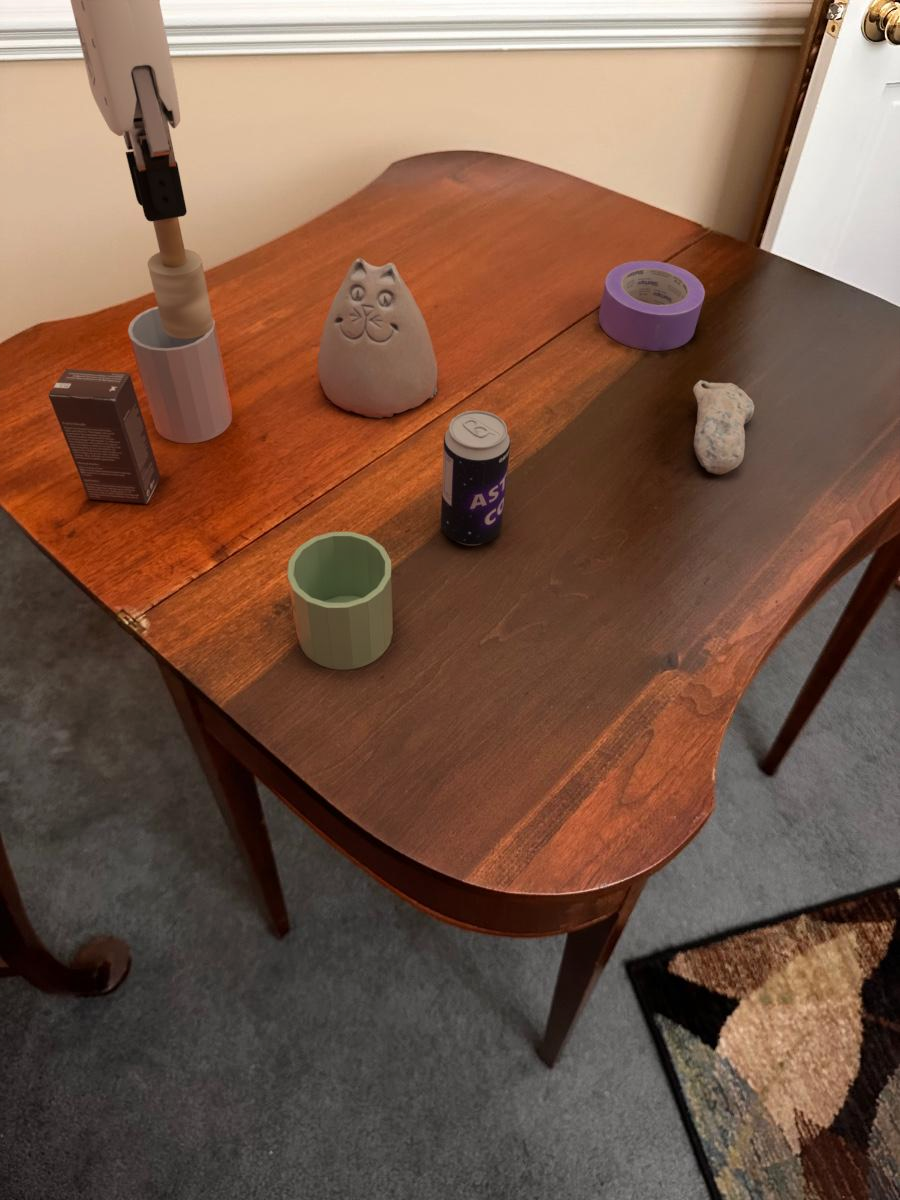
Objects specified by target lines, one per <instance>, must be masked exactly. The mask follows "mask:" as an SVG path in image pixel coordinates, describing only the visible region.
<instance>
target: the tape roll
mask: <svg viewBox="0 0 900 1200" xmlns="http://www.w3.org/2000/svg"><path fill="white" fill-rule="evenodd" d="M705 295H706V292H705V288H704V285H703V284H702V282H701V281H700V280H699V278H698V277H696V276H695V275H694V274H692V273H691V272H689V270H686V269H684V268H682V267H679V266H676V265H674V264H671V263H666V262H662V261H655V260H636V261H635V260H634V261H628V262H625V263H621V264H618V265H617V266H615V267H614V268H612V269H611V270H610V271H609V272H608V274H607V275H606V277H605V281H604V285H603V291H602V296H601V302H600V306H599V313H598V323H599V326H600V327H601V329H602V330H603V332H605V334H607V336H608V337H610V338H611V339H612V340H614V341H616V342H617V343H619V344H622V345H623V346H626V347H629V348H633V349H637V350H641V351H647V352H648V351H649V352H663V351H670V350H674V349H678V348H680V347H682V346H684V345H686V344H687V343H688V342H689V341H691V339H692V338H693V337H694V335H695V332H696V327H697V324H698V321H699V317H700V313H701V309H702V306H703V303H704V299H705Z"/></svg>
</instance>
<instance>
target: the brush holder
mask: <svg viewBox="0 0 900 1200" xmlns="http://www.w3.org/2000/svg"><path fill="white" fill-rule="evenodd" d="M392 573H393V571H392V559H391V558H390V556H389V554H388V553H387V550H386V549H385V547H384V546H383V545H382V544H380V543H379V542H377V541H376V540H375V539H373V538H372V537H370V536H367V535H364V534H361V533H357V532H354V531H331V532H327V533H323V534H319V535H316V536H314V537H312V538H310V539H308V540H307V541H305V542H304V543H302V544H301V545H299V546H298V547H297V548H296V550H295V551H294V553H292V555H291V557H290V558H289V560H288V565H287V573H286V577H287V578H286V579H287V584H288V590H289V597H290V603H291V609H292V614H293V615H292V616H293V620H294V621H293V622H294V626H295V633H296V637H297V641H298V643H299V647H300V648H301V650H302V652H303V654H305V656H306V657H307V658H308V659H309V660H311V661H312V662H313V663H316V664H317V665H319V666H322V667H324V668H327V669H331V670H339V671H346V670H347V671H348V670H356V669H360V668H363V667H365V666H368V665H370V664H371V663H373V662H375V661H377V660H378V659H380V658H381V656H383V654H384V653H385V652H386V651H387V650H388V648H389V646H390V644H391V642H392V639H393V636H394V635H393V633H394V612H393V609H394V608H393V576H392V575H393V574H392Z"/></svg>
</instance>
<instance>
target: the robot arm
mask: <svg viewBox="0 0 900 1200" xmlns="http://www.w3.org/2000/svg"><path fill="white" fill-rule="evenodd" d="M69 1H70V4H71V9H72V14H73V18H74V22H75V26H76V31H77V35H78V39H79V43H80V47H81V51H82V56H83V61H84V65H85V69H86V75H87V79H88V84H89V88H90V90H91V94H92V97H93V99H94V101H95V103H96V106H97V107H98V110H99V112H100V114H101V116H102V118H103V120H104V121H105V123H106V125H107V127H108V129H109V131H111V133H112V132H113V134H115V135H116V136H118V137H122V136H123V139H124V143H125V146H126V150H127V151H126V152H125V156H126V161H127V165H128V168H129V169H128V170H129V172H130V173H129V174H130V177H131V181H132V186H133V190H134V193H135V198H136V201H137V204H138V205H140V206H142V211H143V215H144V217H145V219H146V220H147V221H148V222H153V221H157V220H163V219H169V218H175V217H178V218H181V217H185V216H186V215H187V212H188V210H187V206H186V201H185V196H184V191H183V185H182V179H181V175H180V171H179V165H178V162H177V160H176V156H175V152H174V147H173V146H174V145H173V141H172V136H171V132H170V127H171V128H172V129H176V128H177V127H178V125H179V124H180V122H181V112H180V104H179V103H180V102H179V97H178V90H177V84H176V80H175V79H176V78H175V74H174V68H173V63H172V58H171V52H170V46H169V42H168V37H167V32H166V27H165V21H164V17H163V12H162V7H161V2H160V1H161V0H69ZM169 125H170V126H169ZM145 135H146V137H147V138H146V139H143V140H142V142H140V138H139V136H145ZM141 143H142V145H141Z"/></svg>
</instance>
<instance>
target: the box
mask: <svg viewBox="0 0 900 1200" xmlns="http://www.w3.org/2000/svg"><path fill="white" fill-rule="evenodd" d="M47 396H48V399H49V402H50V403H51V406H52V409H53V411H54V413H55V416H56V418H57V421H58V424H59V427H60V429H61V432H62V434H63V437H64V439H65V442H66V445H67V447H68V449H69V453H70V455H71V458H72V460H73V462H74V465H75V468H76V471H77V473H78V475H79V478H80V481H81V484H82V487H83V489H84V492H85V495H86V496H87V499H88V500H97V501H109V502H120V503H133V504H145V505H148V503H149V502H150V501H151V498H152V496H153V494H154V492H155V489H156V487H157V485H158V483H159V480H160V478H161V474H160V472H159V468H158V465H157V461H156V458H155V457H156V456H155V454H154V451H153V448H152V443H151V441H150V440H151V439H150V437H149V433H148V431H147V427H146V424H145V420H144V416H143V414H142V411H141V407H140V404H139V400H138V396H137V394H136V390H135V386H134V383H133V381H132V376H131V373H130V372H115V371H113V372H112V371H99V370H87V369H73V368H66V369H65V370H64V371H63V373H62V374H61V376H60V377H59V378H58V379H57V381H56V383H55V384H54V386H53V387H52V389H50V391H49V392H48V394H47Z"/></svg>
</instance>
